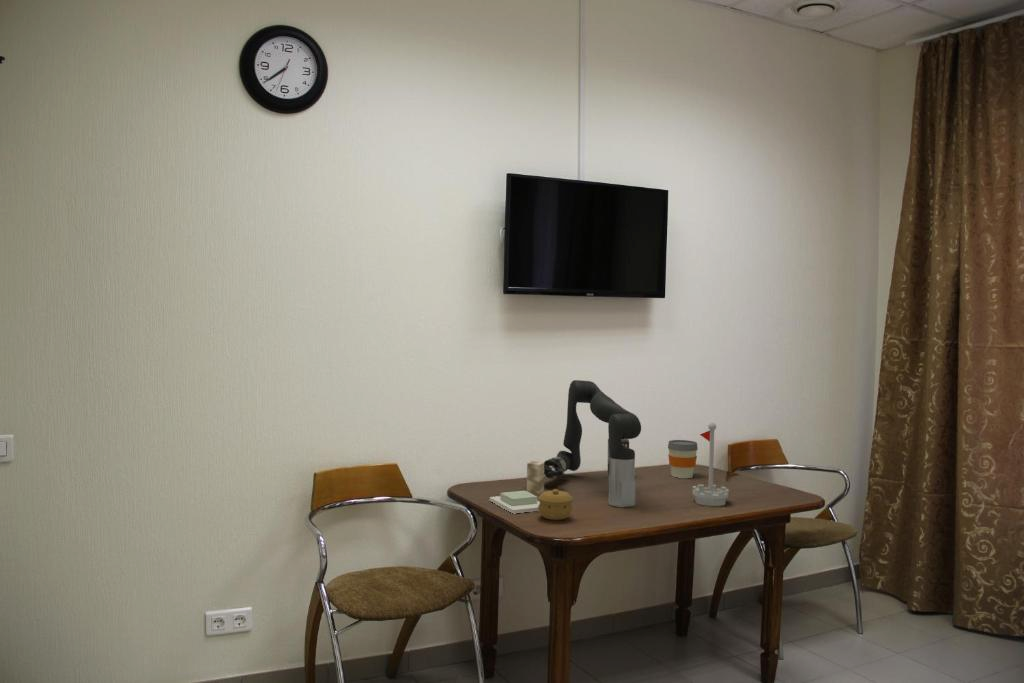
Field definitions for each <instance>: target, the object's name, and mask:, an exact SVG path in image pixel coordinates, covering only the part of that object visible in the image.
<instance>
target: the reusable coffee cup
mask: <svg viewBox="0 0 1024 683" xmlns="http://www.w3.org/2000/svg"><path fill="white" fill-rule="evenodd" d="M667 446H668V447H667V449H668V454H667V455H668V456H667V457H668V463H669V466H670V474H671V475H672V476H674V477H678V478H691V477H693V476H694V471H695V467H696V464H697V458H698V456H697V452H698V449H699V448H698V442H696V441H693V440H687V439H686V440H685V439H674V440H673V439H672V440H669V441H668V444H667ZM672 476H671V477H672ZM674 477H673V478H674ZM678 478H677V479H678ZM693 478H694V477H693ZM691 479H692V478H691Z"/></svg>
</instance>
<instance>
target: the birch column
mask: <svg viewBox="0 0 1024 683" xmlns="http://www.w3.org/2000/svg"><path fill="white" fill-rule="evenodd" d="M544 462H545V461H544ZM544 462H543V461H542V462H541V461H533V460H532V461H530V462H528V463H527V466H526V467H527V468H526V491H527V492H529V493H531V494H534V495H540V494H542V493H543V492H545V476H544Z"/></svg>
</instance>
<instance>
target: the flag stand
mask: <svg viewBox="0 0 1024 683" xmlns="http://www.w3.org/2000/svg"><path fill="white" fill-rule="evenodd" d="M708 429H709V430H707V431H705V432H703V433H700V434H699V435H700V436H701V437H702V438H704V439H705V440H706V441H708V442H709V453H708V454H709V455H708V456H709V460H708V461H709V462H708V487H705V485H704V484H697V485H694V486H692V495H694V497H695V498H694V502H695V503H696V504H698V505H702V506H707V507H723V506H725V505H726V501H727V500H726V499H727V498H729V493H730V492H729V488H727V487H725V486H720V487H719V488H717V485H716V484H714V459H715V457H714V456H715V455H714V452H715V449H714V446H715V430H716V429H717V424H716V423H714V422H709V424H708Z"/></svg>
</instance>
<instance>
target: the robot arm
mask: <svg viewBox="0 0 1024 683" xmlns="http://www.w3.org/2000/svg"><path fill="white" fill-rule="evenodd" d="M578 403H583V404H589V409H590V411H591V413H592V415H594V416H595V418H596V419H598V420H599V421H601V422H603V423H607V424H608V425H607V426H608V428H607V429H608V430H607V431H608V439H609V452H610V458H609V478H608V505H610V506H613V507H619V508H629V507H630V508H631V507H635V506H636V484H637V483H636V482H637V481H636V480H635V472H636V471H635V469H636V466H635V462H636V451H635V450H634V449H632V448H631V447H629V448H627V447H625V446H623V445H622V441H621V439H628V440H632V439H637V437H638V436H639V435H640V434H641V432H642V423H641V421H640V419H639V417H638V416H637V414H635V413H633V412H630V411H628V410H627V409H625V408H624V407H622V406H621V405H619V404H618V403H617V402H616V401H614V400H613V399H612V398H611V397H610V396H608V395H606V394H605V393H604V392H603V390H601V389H600V387H598V385H597V384H596V383H595V382H593V381H590V380H580V379H577V380H576V379H575V380H572V381H571V382H570V384H569V388H568V394H567V412H566V413H567V414H566V415H567V416H566V426H565V432H564V437H563V447H565V448H566V449H567V450H568V451H567V450H559V451H558V452H557V454H556V456H554V457H551V458H548V459H547V460H545V461H544V477H546V478H548V479H554V478H561V477H563V476H564V475H565V472H567V471H568V470H569V471H573V472H575V471H578V470H579V468H580V466H581V462H582V461H581V460H582V459H581V448H580V447H581V440H582V437H583V427H582V423H581V421H580V419H579V415H578V412H577V404H578Z"/></svg>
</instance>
